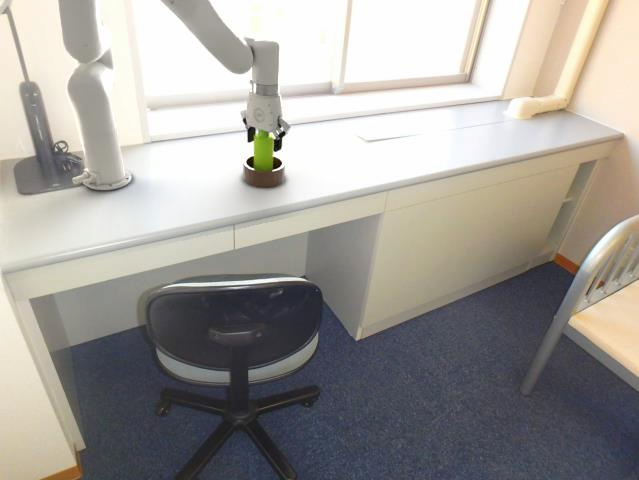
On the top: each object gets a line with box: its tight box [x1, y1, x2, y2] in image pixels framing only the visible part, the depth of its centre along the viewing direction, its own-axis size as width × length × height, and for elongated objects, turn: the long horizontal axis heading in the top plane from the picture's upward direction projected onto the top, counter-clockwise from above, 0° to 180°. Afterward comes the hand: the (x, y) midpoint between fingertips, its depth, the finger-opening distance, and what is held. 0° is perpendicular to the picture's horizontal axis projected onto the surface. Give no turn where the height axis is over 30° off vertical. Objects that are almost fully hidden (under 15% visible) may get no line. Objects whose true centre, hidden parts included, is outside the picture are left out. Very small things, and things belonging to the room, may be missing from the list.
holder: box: [242, 154, 286, 189], centre depth 137 cm, size 13×13×6 cm
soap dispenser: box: [253, 129, 275, 171], centre depth 133 cm, size 6×7×20 cm
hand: (264, 145), depth 132 cm, fingers open, 9 cm apart
